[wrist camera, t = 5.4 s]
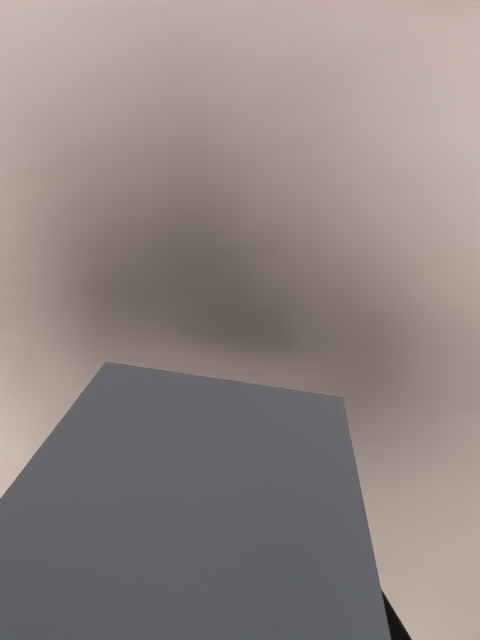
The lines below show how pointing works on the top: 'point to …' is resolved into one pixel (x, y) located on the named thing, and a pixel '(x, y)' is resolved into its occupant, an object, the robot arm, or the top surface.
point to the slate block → (190, 518)
